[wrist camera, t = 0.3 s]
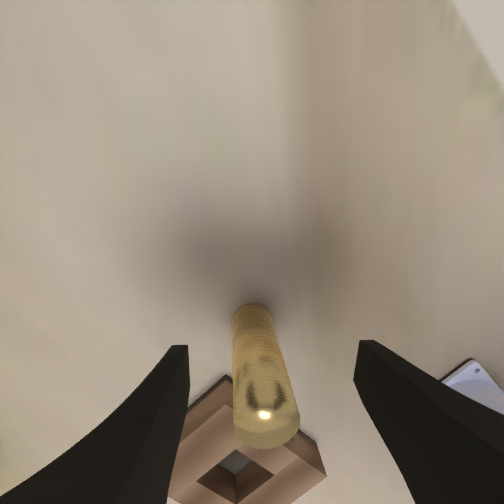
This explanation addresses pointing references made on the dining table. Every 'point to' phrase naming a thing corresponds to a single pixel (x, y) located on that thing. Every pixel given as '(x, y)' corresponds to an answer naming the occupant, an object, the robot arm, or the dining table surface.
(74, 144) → the dining table surface
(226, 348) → the dining table surface
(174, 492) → the walnut block
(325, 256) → the dining table surface
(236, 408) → the brass peg
